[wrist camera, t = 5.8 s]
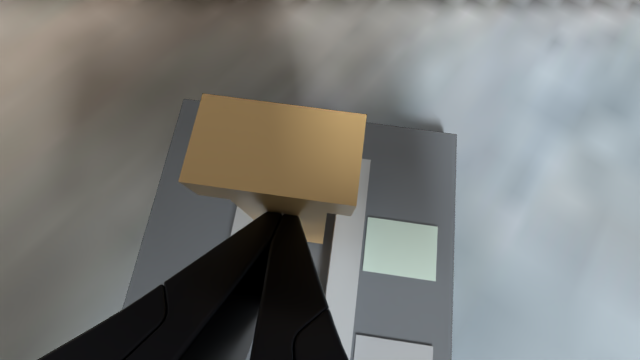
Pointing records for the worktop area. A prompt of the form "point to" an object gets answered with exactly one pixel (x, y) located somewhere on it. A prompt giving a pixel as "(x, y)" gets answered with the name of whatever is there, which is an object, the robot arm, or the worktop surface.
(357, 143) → the tab
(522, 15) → the worktop surface
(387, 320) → the switch board
